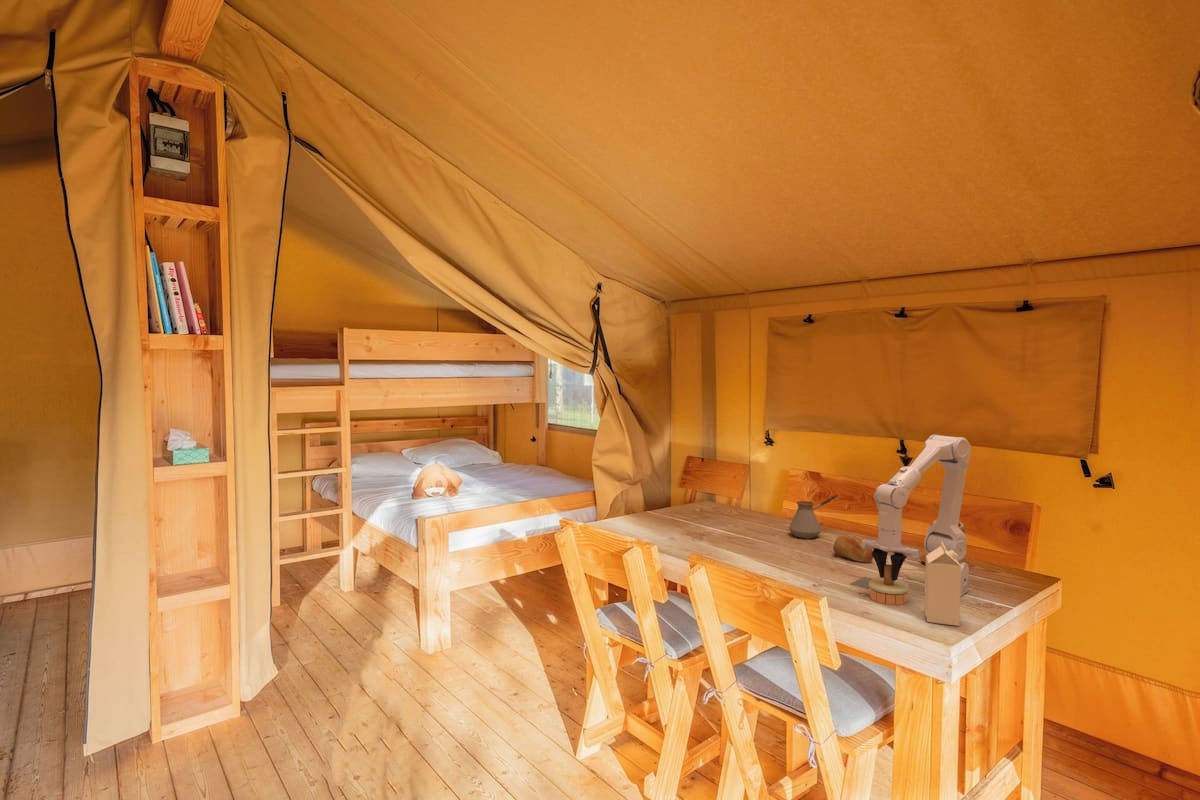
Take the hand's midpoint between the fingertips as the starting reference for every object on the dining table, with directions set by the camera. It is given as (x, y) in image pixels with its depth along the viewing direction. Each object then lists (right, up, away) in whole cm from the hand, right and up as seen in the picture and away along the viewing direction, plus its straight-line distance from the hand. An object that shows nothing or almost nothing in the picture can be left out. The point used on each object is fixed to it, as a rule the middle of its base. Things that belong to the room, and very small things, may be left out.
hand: (888, 578), depth 178 cm
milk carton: (+7, -7, -13) cm, 17 cm away
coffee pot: (+3, -3, +71) cm, 71 cm away
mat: (+1, -6, +12) cm, 13 cm away
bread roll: (+5, -5, +40) cm, 40 cm away
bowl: (0, -6, 0) cm, 6 cm away
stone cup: (+33, -5, +33) cm, 47 cm away
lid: (0, -3, 0) cm, 3 cm away
